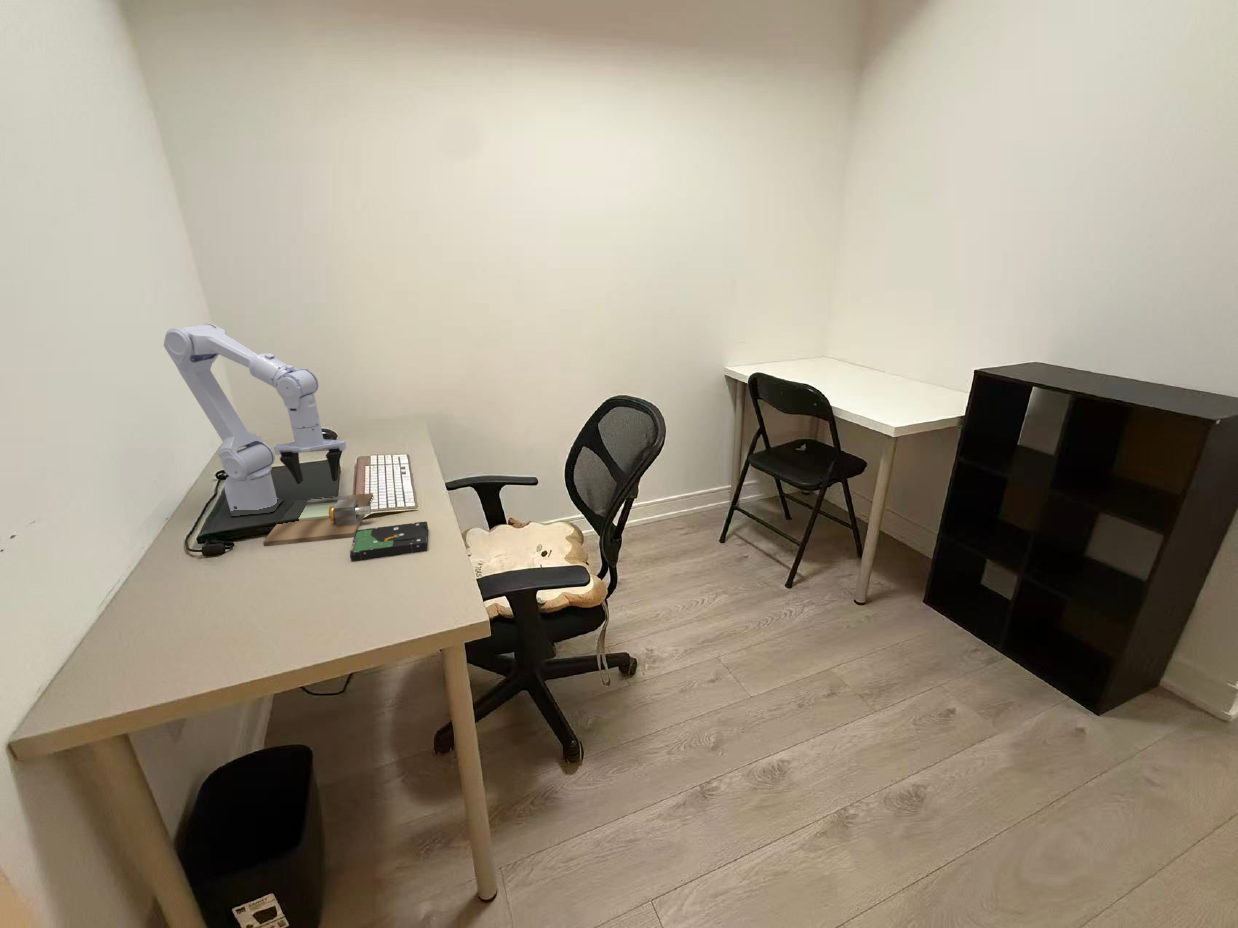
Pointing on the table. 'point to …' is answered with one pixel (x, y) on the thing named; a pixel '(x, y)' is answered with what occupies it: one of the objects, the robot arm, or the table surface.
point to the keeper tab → (316, 511)
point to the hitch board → (322, 522)
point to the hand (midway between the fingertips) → (317, 480)
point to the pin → (357, 511)
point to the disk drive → (389, 541)
